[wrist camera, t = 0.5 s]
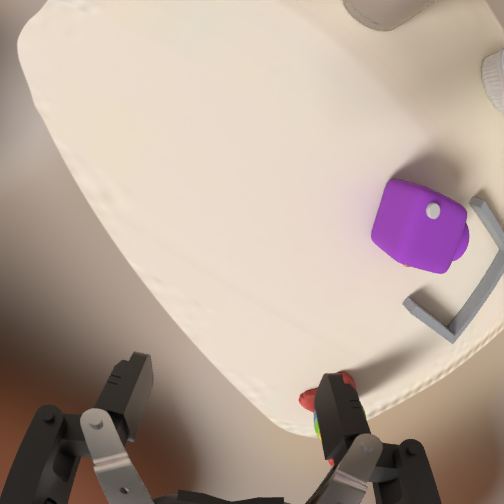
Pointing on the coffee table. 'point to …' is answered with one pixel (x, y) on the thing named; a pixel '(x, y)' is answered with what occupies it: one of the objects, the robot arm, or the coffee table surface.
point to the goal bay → (483, 290)
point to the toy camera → (420, 227)
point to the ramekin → (494, 79)
